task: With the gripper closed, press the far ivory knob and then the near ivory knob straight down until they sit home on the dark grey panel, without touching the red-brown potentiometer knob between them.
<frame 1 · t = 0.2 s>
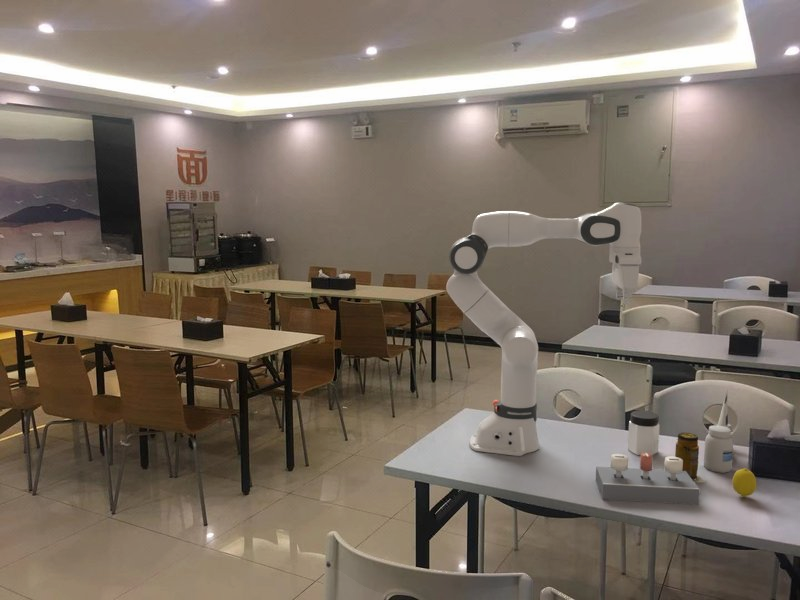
hand: (622, 301, 195), 48 cm above the table, fingers open, 8 cm apart
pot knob: (646, 468, 172), point 7 cm above the table, slide at 0.0 cm
lemon: (743, 497, 169), on the table
jar: (642, 451, 202), on the table
mount: (644, 491, 173), on the table
condiment: (686, 477, 183), on the table
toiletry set: (720, 459, 195), on the table
knob near: (618, 469, 173), point 6 cm above the table, slide at 0.0 cm
knob far: (673, 471, 171), point 6 cm above the table, slide at 0.0 cm
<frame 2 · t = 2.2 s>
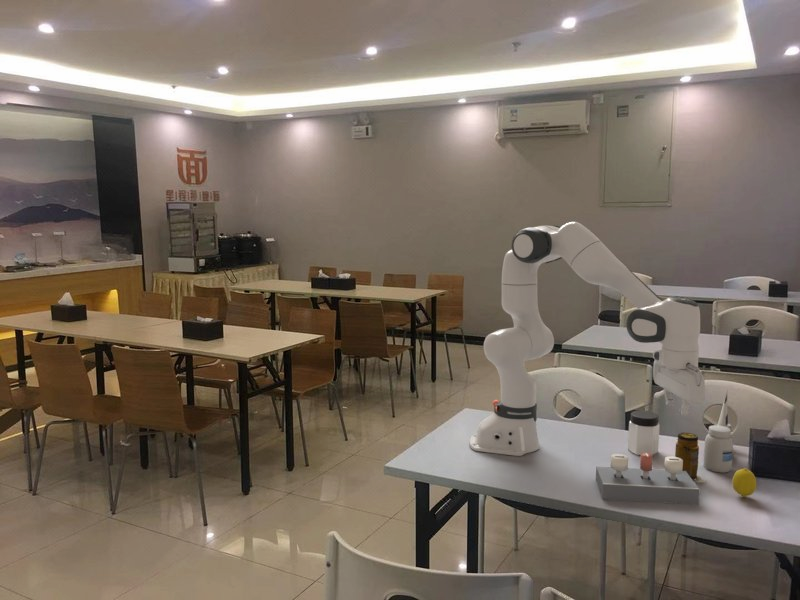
hand: (676, 410, 169), 23 cm above the table, fingers open, 6 cm apart
nothing on the table moved.
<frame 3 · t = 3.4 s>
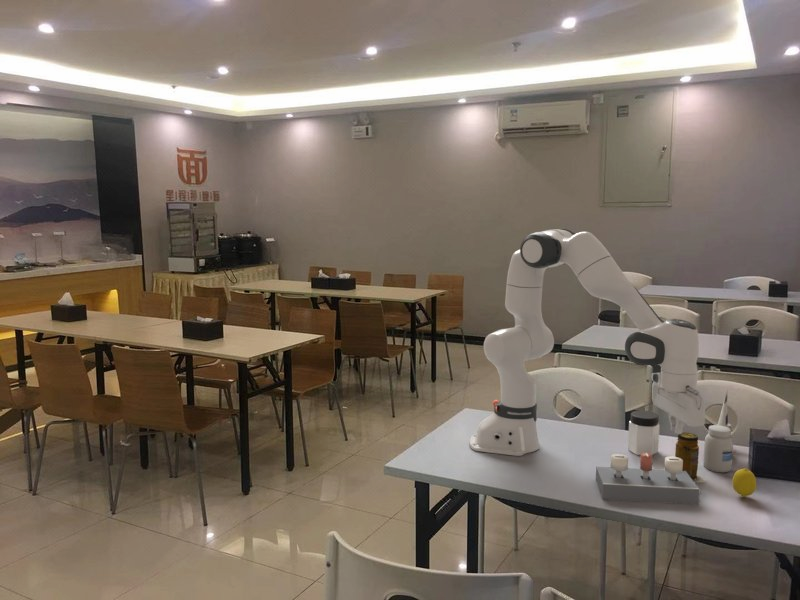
hand: (676, 432, 169), 17 cm above the table, fingers closed
nothing on the table moved.
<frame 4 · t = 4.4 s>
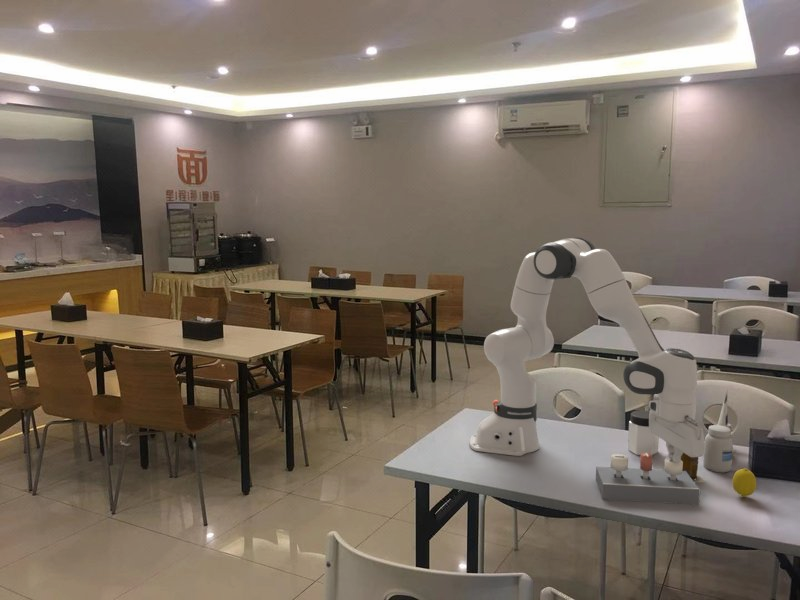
hand: (674, 460, 171), 9 cm above the table, fingers closed, pressing on knob far
knob far: (673, 473, 171), point 6 cm above the table, slide at 0.4 cm, touching gripper
everything else where it was.
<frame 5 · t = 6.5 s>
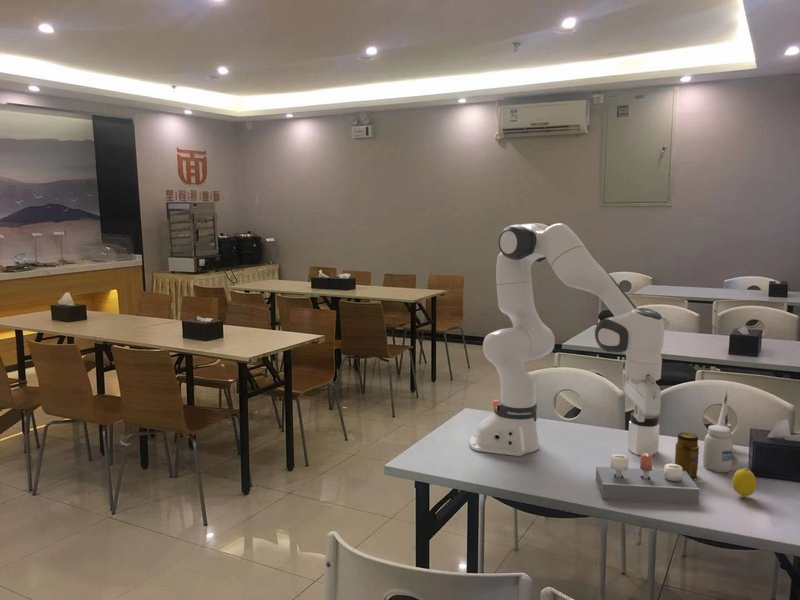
hand: (639, 420, 171), 20 cm above the table, fingers closed
knob far: (672, 479, 171), point 4 cm above the table, slide at 2.1 cm
everything else where it was.
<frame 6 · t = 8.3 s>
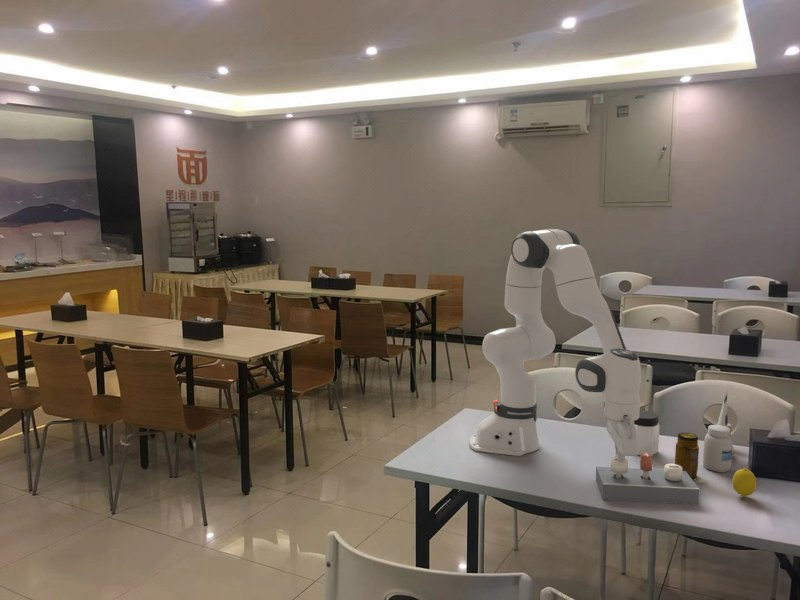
hand: (620, 459, 173), 9 cm above the table, fingers closed, pressing on knob near
knob near: (618, 471, 173), point 5 cm above the table, slide at 0.8 cm, touching gripper
everything else where it was.
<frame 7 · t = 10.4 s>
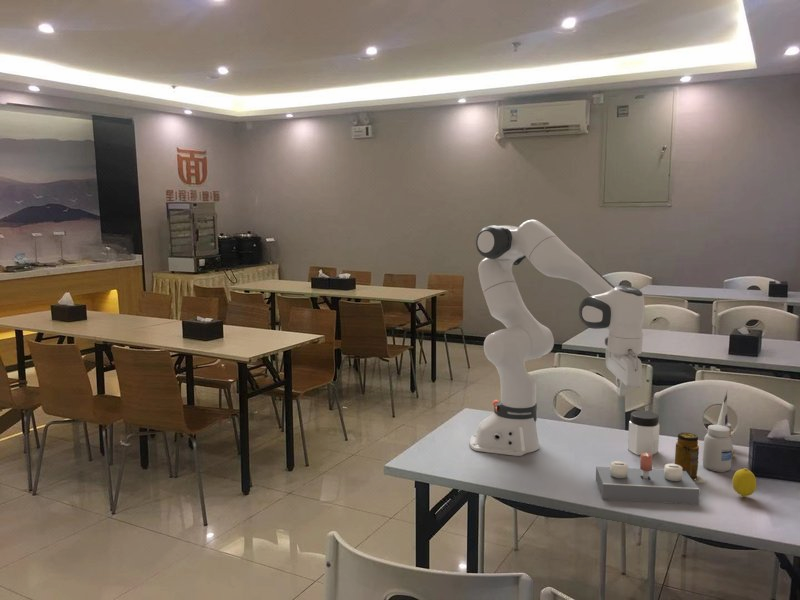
hand: (621, 393, 178), 25 cm above the table, fingers closed
knob near: (618, 476, 173), point 4 cm above the table, slide at 2.1 cm
everything else where it was.
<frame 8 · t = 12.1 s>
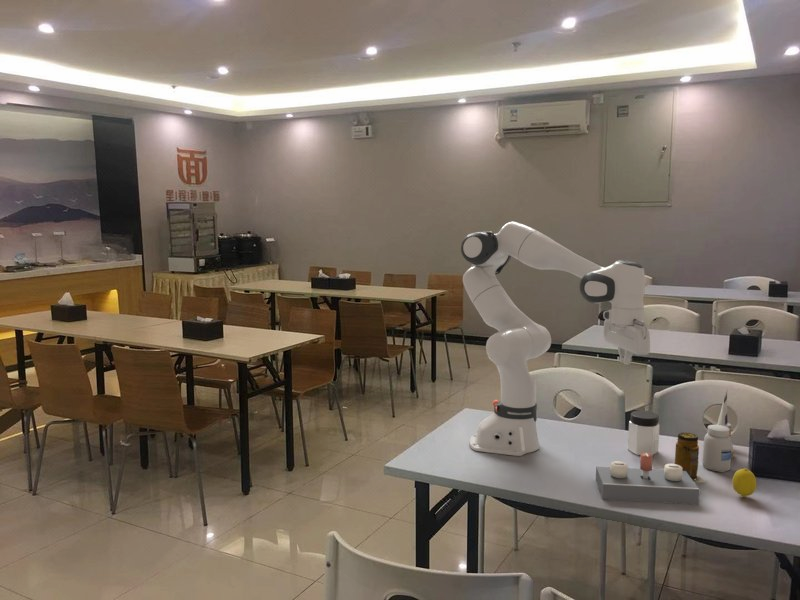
hand: (625, 363, 186), 31 cm above the table, fingers closed
nothing on the table moved.
at the end: knob far slide at 2.1 cm; knob near slide at 2.1 cm; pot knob slide at 0.0 cm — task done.
